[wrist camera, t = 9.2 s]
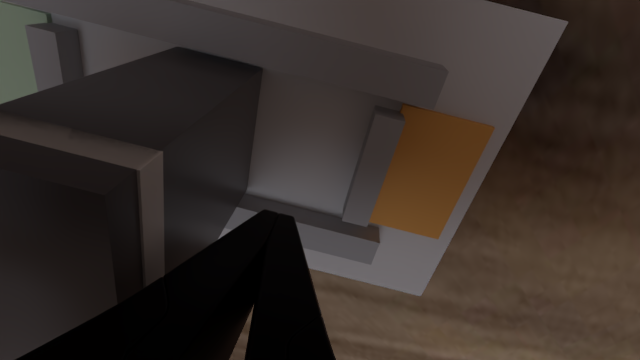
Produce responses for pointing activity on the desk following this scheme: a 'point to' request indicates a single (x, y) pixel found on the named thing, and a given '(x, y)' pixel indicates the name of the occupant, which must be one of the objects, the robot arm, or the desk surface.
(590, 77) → the desk surface
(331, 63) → the white base plate
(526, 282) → the desk surface
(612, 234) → the desk surface
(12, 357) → the handle
